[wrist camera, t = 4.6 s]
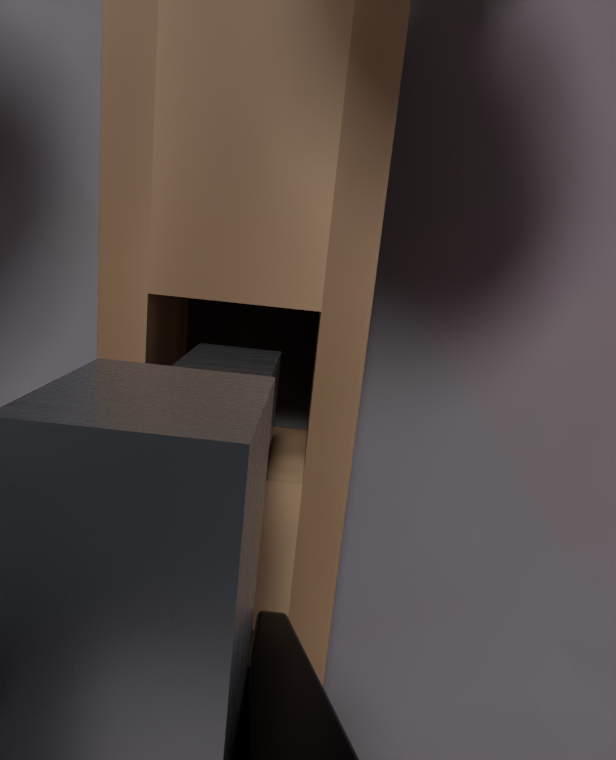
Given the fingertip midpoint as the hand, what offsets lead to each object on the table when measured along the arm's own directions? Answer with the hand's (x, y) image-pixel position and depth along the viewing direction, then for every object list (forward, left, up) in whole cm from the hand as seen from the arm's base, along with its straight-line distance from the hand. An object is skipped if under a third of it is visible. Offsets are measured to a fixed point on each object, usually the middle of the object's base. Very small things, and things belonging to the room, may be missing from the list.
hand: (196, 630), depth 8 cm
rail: (0, 0, -5) cm, 5 cm away
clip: (0, 0, -2) cm, 2 cm away
